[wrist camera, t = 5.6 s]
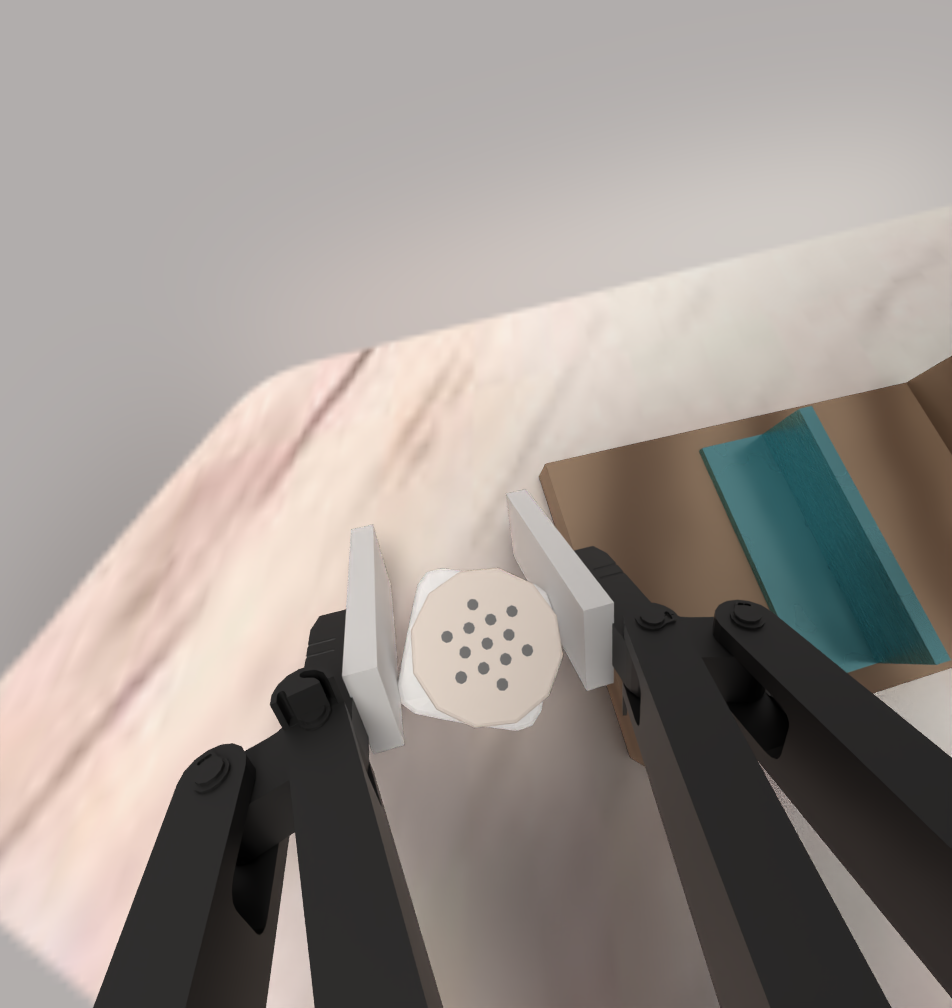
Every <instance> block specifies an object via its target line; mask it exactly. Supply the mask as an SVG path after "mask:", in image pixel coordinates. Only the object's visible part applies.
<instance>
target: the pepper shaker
mask: <svg viewBox="0 0 952 1008" xmlns="http://www.w3.org/2000/svg"><path fill="white" fill-rule="evenodd" d="M562 658H563V652H562V645H561V639H560V632H559V626H558V619H557V615H556V614H555V612H554V611H553V610H552V606H551V603H550V600H549V598H548V595H547V593H546V592H545V591H544V590H542V589H541V588H540V587H538V586H537V585H535V584H533V583H531V582H528V581H526V580H524V579H522V578H520V577H517V576H515V575H513V574H511V573H509V572H506V571H504V570H502V569H500V568H490V569H479V570H468V571H460V570H453V569H445V568H440V569H437V570H433V571H429V572H427V573H426V574H425V575H424V577H423V578H422V579H421V581H420V582H419V584H418V586H417V590H416V595H415V599H414V604H413V608H412V613H411V617H410V622H409V627H408V632H407V637H406V642H405V647H404V652H403V657H402V663H401V668H400V674H399V680H398V689H399V694H400V699H401V704H402V705H404V706H405V707H406V708H408V709H409V710H410V711H412V712H413V713H414V714H418V715H423V716H428V717H433V718H438V719H443V720H449V721H454V722H460V723H465V724H467V725H469V726H471V727H473V728H481V727H491V728H498V729H506V730H513V731H518V730H521V729H524V728H527V727H530V726H533V724H534V722H535V721H536V719H537V717H538V716H539V714H540V712H541V710H542V703H543V701H544V700H545V699H546V698H547V697H549V695H550V692H551V689H552V686H553V683H554V681H555V678H556V675H557V672H558V670H559V667H560V664H561V661H562Z"/></svg>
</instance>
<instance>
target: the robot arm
mask: <svg viewBox="0 0 952 1008" xmlns="http://www.w3.org/2000/svg"><path fill="white" fill-rule="evenodd" d="M506 499H507V507H508V515H509V523H510V531H511V539H512V547H513V554H514V557H515V559H516V561H517V563H518V565H519V567H520V568H521V570H522V572H523V574H524V576H525V578H526V580H527V581H528V582H531V583H533V584H535V585H537V586H538V587H540V588H541V589H542V590H544V591H545V592H546V593H547V595H548V598H549V600H550V603H551V606H552V610H553V611H554V612H555V614H556V615H557V619H558V626H559V632H560V639H561V644H562V646H563V648H564V650H565V652H566V654H567V655H568V657H569V659H570V661H571V663H572V665H573V667H574V668H575V670H576V672H577V674H578V676H579V678H580V680H581V681H582V683H583V685H584V687H585V689H586V691H588V690H592V689H595V688H598V687H602V686H605V685H608V684H612V683H614V669H615V670H616V672H617V673H618V675H619V676H620V678H621V680H622V681H623V683H622V713H623V716H624V715H627V710H628V713H629V717H630V720H631V723H632V726H633V729H634V733H635V736H636V739H637V742H638V745H639V749H640V752H641V755H642V758H643V761H644V765H645V768H646V771H647V774H648V777H649V781H650V784H651V787H652V790H653V793H654V797H655V800H656V803H657V806H658V809H659V813H660V816H661V819H662V822H663V825H664V829H665V832H666V835H667V838H668V841H669V845H670V848H671V851H672V854H673V857H674V861H675V864H676V867H677V870H678V873H679V877H680V880H681V883H682V886H683V889H684V893H685V896H686V899H687V902H688V905H689V909H690V912H691V915H692V918H693V921H694V925H695V928H696V931H697V934H698V937H699V941H700V944H701V947H702V950H703V953H704V956H705V960H706V963H707V966H708V969H709V972H710V976H711V979H712V982H713V985H714V988H715V992H716V995H717V998H718V1001H719V1004H720V1008H891V1006H890V1004H889V1002H888V1000H887V999H886V997H885V995H884V993H883V991H882V989H881V988H880V986H879V984H878V982H877V980H876V978H875V977H874V975H873V973H872V971H871V969H870V967H869V965H868V964H867V962H866V960H865V958H864V956H863V954H862V953H861V951H860V949H859V947H858V945H857V943H856V941H855V940H854V938H853V936H852V934H851V932H850V930H849V929H848V927H847V925H846V923H845V921H844V919H843V918H842V916H841V914H840V912H839V910H838V908H837V906H836V905H835V903H834V901H833V899H832V897H831V895H830V894H829V892H828V890H827V888H826V886H825V884H824V883H823V881H822V879H821V877H820V875H819V873H818V871H817V870H816V868H815V866H814V864H813V862H812V860H811V859H810V857H809V855H808V853H807V851H806V849H805V847H804V846H803V844H802V842H801V840H800V838H799V836H798V835H797V833H796V831H795V829H794V827H793V825H792V824H791V822H790V820H789V818H788V816H787V814H786V812H785V811H784V809H783V807H782V805H781V803H780V801H779V800H778V798H777V796H776V794H775V792H774V790H773V788H772V787H771V785H770V783H769V781H768V779H767V777H766V776H765V774H764V772H763V770H762V768H761V766H760V765H759V763H760V764H761V765H762V766H763V768H764V769H765V770H766V771H767V773H768V774H769V775H770V776H771V777H772V779H773V780H774V781H775V782H776V784H777V785H778V786H779V787H780V788H781V790H782V791H783V792H784V793H785V795H786V796H787V797H788V798H789V799H790V801H791V802H792V803H793V804H794V806H795V807H796V808H797V809H798V810H799V812H800V813H801V814H802V815H803V817H804V818H805V819H806V820H807V822H808V823H809V824H810V825H811V826H812V828H813V829H814V830H815V831H816V833H817V834H818V835H819V836H820V837H821V839H822V840H823V841H824V842H825V844H826V845H827V846H828V847H829V848H830V850H831V851H832V852H833V853H834V855H835V856H836V857H837V858H838V859H839V861H840V862H841V863H842V864H843V866H844V867H845V868H846V869H847V871H848V872H849V873H850V874H851V875H852V877H853V878H854V879H855V880H856V882H857V883H858V884H859V885H860V886H861V888H862V889H863V890H864V891H865V893H866V894H867V895H868V896H869V897H870V899H871V900H872V901H873V902H874V904H875V905H876V906H877V907H878V908H879V910H880V911H881V912H882V913H883V915H884V916H885V917H886V918H887V919H888V921H889V922H890V923H891V924H892V926H893V927H894V928H895V929H896V931H897V932H898V933H899V934H900V935H901V937H902V938H903V939H904V940H905V942H906V943H907V944H908V945H909V946H910V948H911V949H912V950H913V951H914V953H915V954H916V955H917V956H918V957H919V959H920V960H921V961H922V962H923V964H924V965H925V966H926V967H927V968H928V970H929V971H930V972H931V973H932V975H933V976H934V977H935V978H936V980H937V981H938V982H939V983H940V984H941V986H942V987H943V988H944V989H945V991H946V992H947V993H948V994H949V995H950V997H951V998H952V758H951V757H950V756H949V755H948V754H946V753H945V752H944V751H943V750H942V749H940V748H939V747H938V746H937V745H935V744H934V743H933V742H932V741H930V740H929V739H928V738H927V737H926V736H924V735H923V734H922V733H921V732H919V731H918V730H917V729H916V728H914V727H913V726H912V725H911V724H910V723H908V722H907V721H906V720H905V719H903V718H902V717H901V716H900V715H898V714H897V713H896V712H895V711H894V710H892V709H891V708H890V707H889V706H887V705H886V704H885V703H884V702H882V701H881V700H880V699H879V698H878V697H876V696H875V695H874V694H873V693H871V692H870V691H869V690H868V689H866V688H865V687H864V686H863V685H862V684H860V683H859V682H858V681H857V680H855V679H854V678H853V677H852V676H850V675H849V674H848V673H847V672H846V671H844V670H843V669H842V668H841V667H839V666H838V665H837V664H836V663H834V662H833V661H832V660H831V659H830V658H828V657H827V656H826V655H825V654H823V653H822V652H821V651H820V650H819V649H817V648H816V647H815V646H814V645H812V644H811V643H810V642H809V641H807V640H806V639H805V638H804V637H803V636H801V635H800V634H799V633H798V632H796V631H795V630H794V629H793V628H791V627H790V626H789V625H788V624H787V623H785V622H784V621H783V620H782V619H780V618H779V617H778V616H777V615H775V614H774V613H773V612H772V611H770V610H769V609H767V608H765V607H764V606H762V605H760V604H757V603H754V602H751V601H745V600H730V601H725V602H723V603H721V604H719V605H718V607H717V608H716V610H715V614H714V617H681V616H678V615H677V614H676V613H675V612H674V611H673V610H671V609H670V608H668V607H666V606H664V605H661V604H657V603H651V602H650V601H649V599H648V598H647V597H646V596H645V595H644V594H643V593H642V592H641V590H640V589H639V588H638V587H637V586H636V585H635V584H634V583H633V581H632V580H631V579H630V578H629V577H628V576H627V575H626V574H625V573H624V572H623V570H622V569H621V568H620V567H619V566H618V565H616V562H615V561H614V560H613V559H612V558H611V557H610V556H609V555H608V553H606V552H604V551H602V550H600V549H598V548H596V547H595V546H590V547H586V548H582V549H578V550H573V549H572V548H571V547H570V545H569V544H568V543H567V541H566V540H565V539H564V537H563V536H562V535H561V534H560V532H559V531H558V530H557V528H556V527H555V526H554V525H553V523H552V522H551V521H550V519H549V518H548V517H547V516H546V514H545V513H544V512H543V510H542V509H541V508H540V507H539V505H538V504H537V503H536V501H535V500H534V499H533V497H532V496H531V495H530V494H529V492H528V491H527V490H526V489H524V490H520V491H515V492H511V493H507V494H506ZM308 645H309V647H308V648H307V655H306V656H307V659H306V661H305V667H304V668H301V669H298V670H297V671H295V672H293V673H292V674H290V675H288V676H287V677H286V678H285V679H284V680H283V681H281V682H280V683H279V684H278V686H277V687H276V689H275V690H274V692H273V694H272V696H271V702H270V706H271V708H272V710H273V712H274V713H275V715H276V717H277V719H278V721H279V723H280V725H281V726H282V728H281V729H280V730H279V731H278V732H277V733H275V734H274V735H272V736H271V737H269V738H267V739H266V740H264V741H262V742H260V743H259V744H257V745H255V746H253V747H251V748H250V749H248V750H246V751H244V750H243V748H242V747H241V746H239V745H236V744H233V743H231V744H223V745H219V746H217V747H215V748H212V749H210V750H208V751H206V752H205V753H204V754H202V755H201V756H200V757H198V758H197V759H195V760H194V761H193V763H192V764H191V765H190V766H189V767H188V768H187V769H186V770H185V771H184V773H183V775H182V777H181V778H180V780H179V782H178V784H177V786H176V789H175V791H174V794H173V797H172V799H171V802H170V805H169V807H168V810H167V813H166V815H165V818H164V821H163V823H162V826H161V829H160V831H159V834H158V837H157V839H156V842H155V845H154V847H153V850H152V853H151V855H150V858H149V861H148V863H147V866H146V869H145V871H144V874H143V877H142V879H141V882H140V885H139V887H138V890H137V893H136V895H135V898H134V901H133V903H132V906H131V909H130V911H129V914H128V917H127V919H126V922H125V925H124V927H123V930H122V933H121V935H120V938H119V941H118V943H117V946H116V949H115V951H114V954H113V957H112V959H111V962H110V965H109V967H108V970H107V972H106V975H105V978H104V980H103V983H102V986H101V988H100V991H99V994H98V996H97V999H96V1002H95V1004H94V1007H93V1008H266V1003H267V996H268V988H269V981H270V974H271V966H272V959H273V952H274V945H275V937H276V930H277V923H278V915H279V908H280V901H281V893H282V886H283V879H284V872H285V864H286V857H287V850H288V842H289V836H290V835H291V834H293V833H294V832H295V836H296V844H297V853H298V862H299V871H300V880H301V889H302V898H303V907H304V916H305V924H306V933H307V942H308V951H309V960H310V969H311V978H312V987H313V996H314V1005H315V1008H443V1005H442V1002H441V999H440V995H439V992H438V988H437V985H436V982H435V978H434V975H433V971H432V968H431V965H430V961H429V958H428V954H427V951H426V948H425V944H424V941H423V938H422V934H421V931H420V927H419V924H418V921H417V917H416V914H415V910H414V907H413V904H412V900H411V897H410V893H409V890H408V887H407V883H406V880H405V877H404V873H403V870H402V866H401V863H400V860H399V856H398V853H397V849H396V846H395V843H394V839H393V836H392V833H391V829H390V826H389V822H388V819H387V816H386V812H385V809H384V805H383V802H382V799H381V795H380V792H379V788H378V785H377V782H376V778H375V775H374V772H373V769H372V767H371V764H370V762H369V744H370V747H371V749H372V752H373V754H376V753H379V752H383V751H386V750H389V749H393V748H396V747H400V746H403V745H404V736H403V723H402V711H401V699H400V694H399V689H398V680H399V675H398V663H397V650H396V638H395V626H394V614H393V602H392V590H391V584H390V580H389V577H388V574H387V570H386V567H385V563H384V560H383V557H382V553H381V550H380V546H379V543H378V539H377V536H376V533H375V529H374V526H373V525H368V526H364V527H360V528H355V529H351V540H350V556H349V572H348V589H347V605H346V610H342V611H338V612H334V613H330V614H326V615H322V616H319V618H318V620H317V621H316V623H315V624H314V626H313V627H312V629H311V630H310V636H309V642H308ZM757 760H758V761H759V763H758V761H757Z"/></svg>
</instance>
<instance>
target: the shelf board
mask: <svg viewBox="0 0 952 1008" xmlns="http://www.w3.org/2000/svg"><path fill="white" fill-rule="evenodd" d="M809 406H812V407H813V409H814V411H815V413H816V414H817V416H818V418H819V420H820V422H821V423H822V425H823V427H824V429H825V431H826V433H827V434H828V436H829V438H830V440H831V442H832V444H833V445H834V447H835V449H836V451H837V453H838V454H839V456H840V458H841V460H842V462H843V464H844V465H845V467H846V469H847V471H848V473H849V475H850V476H851V478H852V480H853V482H854V484H855V485H856V487H857V489H858V491H859V493H860V495H861V496H862V498H863V500H864V502H865V504H866V506H867V507H868V509H869V511H870V513H871V515H872V517H873V518H874V520H875V522H876V524H877V526H878V527H879V529H880V531H881V533H882V535H883V537H884V538H885V540H886V542H887V544H888V546H889V548H890V549H891V551H892V553H893V555H894V557H895V558H896V560H897V562H898V564H899V566H900V568H901V569H902V571H903V573H904V575H905V577H906V579H907V580H908V582H909V584H910V586H911V588H912V589H913V591H914V593H915V595H916V597H917V599H918V600H919V602H920V604H921V606H922V608H923V610H924V611H925V613H926V615H927V617H928V619H929V621H930V622H931V624H932V626H933V628H934V630H935V631H936V633H937V635H938V637H939V639H940V641H941V642H942V644H943V646H944V648H945V650H946V652H947V653H948V655H949V657H950V659H951V660H950V661H947V662H944V663H941V664H938V665H920V664H885V663H876V664H873V665H870V666H867V667H864V668H861V669H857V670H854V671H851V672H848V674H849V675H850V676H852V677H853V678H854V679H855V680H857V681H858V682H859V683H860V684H862V685H863V686H864V687H865V688H866V689H868V690H869V691H870V692H871V693H875V692H879V691H882V690H885V689H888V688H891V687H894V686H897V685H900V684H903V683H906V682H909V681H912V680H915V679H918V678H922V677H925V676H928V675H931V674H934V673H937V672H940V671H943V670H946V669H949V668H952V356H951V357H949V358H947V359H945V360H944V361H942V362H940V363H939V364H937V365H935V366H934V367H932V368H930V369H929V370H927V371H925V372H923V373H922V374H920V375H918V376H917V377H915V378H913V379H912V380H910V381H908V382H907V383H903V384H898V385H894V386H889V387H885V388H880V389H876V390H871V391H867V392H862V393H858V394H854V395H849V396H845V397H840V398H836V399H831V400H827V401H822V402H818V403H814V404H809V405H805V406H800V407H796V408H791V409H787V410H782V411H778V412H774V413H769V414H765V415H760V416H756V417H751V418H747V419H742V420H738V421H734V422H729V423H725V424H720V425H716V426H711V427H707V428H702V429H698V430H693V431H689V432H685V433H680V434H676V435H671V436H667V437H662V438H658V439H653V440H649V441H645V442H640V443H636V444H631V445H627V446H622V447H618V448H613V449H609V450H605V451H600V452H596V453H591V454H587V455H582V456H578V457H573V458H569V459H565V460H560V461H556V462H551V463H547V464H545V466H544V468H543V470H542V472H541V474H540V476H539V478H540V481H541V484H542V487H543V490H544V494H545V497H546V500H547V503H548V506H549V509H550V512H551V515H552V518H553V521H554V524H555V527H556V528H557V530H558V531H559V532H560V534H561V535H562V536H563V537H564V539H565V540H566V541H567V543H568V544H569V545H570V547H571V548H572V549H573V550H578V549H582V548H586V547H590V546H595V547H596V548H598V549H600V550H602V551H604V552H606V553H608V555H609V556H610V557H611V558H612V559H613V560H614V561H615V562H616V565H618V566H619V567H620V568H621V569H622V570H623V572H624V573H625V574H626V575H627V576H628V577H629V578H630V579H631V580H632V581H633V583H634V584H635V585H636V586H637V587H638V588H639V589H640V590H641V592H642V593H643V594H644V595H645V596H646V597H647V598H648V599H649V601H650V602H651V603H657V604H661V605H664V606H666V607H668V608H670V609H671V610H673V611H674V612H675V613H676V614H677V615H678V616H681V617H714V614H715V610H716V608H717V607H718V605H719V604H721V603H723V602H725V601H730V600H745V601H751V602H754V603H757V604H760V605H762V606H764V607H765V608H767V609H769V607H768V605H767V603H766V601H765V598H764V596H763V594H762V592H761V589H760V587H759V585H758V583H757V580H756V578H755V576H754V574H753V572H752V569H751V567H750V565H749V563H748V560H747V558H746V556H745V554H744V551H743V549H742V547H741V545H740V542H739V540H738V538H737V536H736V533H735V531H734V529H733V527H732V525H731V522H730V520H729V518H728V516H727V513H726V511H725V509H724V507H723V504H722V502H721V500H720V498H719V495H718V493H717V491H716V489H715V487H714V484H713V482H712V480H711V478H710V475H709V473H708V471H707V469H706V466H705V464H704V462H703V460H702V457H701V455H700V453H699V450H700V449H702V448H705V447H709V446H713V445H718V444H722V443H726V442H731V441H735V440H739V439H744V438H748V437H752V436H757V435H761V434H763V433H765V432H766V431H768V430H769V429H771V428H772V427H773V426H775V425H776V424H778V423H779V422H781V421H782V420H784V419H785V418H786V417H788V416H789V415H791V414H792V413H794V412H795V411H796V410H798V409H800V408H805V407H809ZM622 683H623V681H622V680H621V678H620V676H619V675H618V673H617V672H616V670H615V669H614V683H612V684H608V685H607V688H608V691H609V694H610V697H611V700H612V703H613V706H614V710H615V713H616V716H617V719H618V722H619V725H620V728H621V731H622V734H623V737H624V740H625V744H626V747H627V750H628V753H629V756H630V758H632V759H633V760H635V761H637V762H638V763H640V764H642V765H643V766H645V765H644V761H643V758H642V755H641V752H640V749H639V745H638V742H637V739H636V736H635V733H634V729H633V726H632V723H631V720H630V717H629V713H628V710H627V715H624V716H623V713H622Z"/></svg>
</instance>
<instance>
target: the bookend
mask: <svg viewBox="0 0 952 1008" xmlns="http://www.w3.org/2000/svg"><path fill="white" fill-rule="evenodd" d="M699 453H700V455H701V457H702V460H703V462H704V464H705V466H706V469H707V471H708V473H709V475H710V478H711V480H712V482H713V484H714V487H715V489H716V491H717V493H718V495H719V498H720V500H721V502H722V504H723V507H724V509H725V511H726V513H727V516H728V518H729V520H730V522H731V525H732V527H733V529H734V531H735V533H736V536H737V538H738V540H739V542H740V545H741V547H742V549H743V551H744V554H745V556H746V558H747V560H748V563H749V565H750V567H751V569H752V572H753V574H754V576H755V578H756V580H757V583H758V585H759V587H760V589H761V592H762V594H763V596H764V598H765V601H766V603H767V605H768V607H769V610H770V611H772V612H773V613H774V614H775V615H777V616H778V617H779V618H780V619H782V620H783V621H784V622H785V623H787V624H788V625H789V626H790V627H791V628H793V629H794V630H795V631H796V632H798V633H799V634H800V635H801V636H803V637H804V638H805V639H806V640H807V641H809V642H810V643H811V644H812V645H814V646H815V647H816V648H817V649H819V650H820V651H821V652H822V653H823V654H825V655H826V656H827V657H828V658H830V659H831V660H832V661H833V662H834V663H836V664H837V665H838V666H839V667H841V668H842V669H843V670H844V671H846V672H847V673H848V672H851V671H854V670H857V669H861V668H864V667H867V666H870V665H873V664H876V663H885V664H920V665H938V664H941V663H944V662H947V661H950V660H951V659H950V657H949V655H948V653H947V652H946V650H945V648H944V646H943V644H942V642H941V641H940V639H939V637H938V635H937V633H936V631H935V630H934V628H933V626H932V624H931V622H930V621H929V619H928V617H927V615H926V613H925V611H924V610H923V608H922V606H921V604H920V602H919V600H918V599H917V597H916V595H915V593H914V591H913V589H912V588H911V586H910V584H909V582H908V580H907V579H906V577H905V575H904V573H903V571H902V569H901V568H900V566H899V564H898V562H897V560H896V558H895V557H894V555H893V553H892V551H891V549H890V548H889V546H888V544H887V542H886V540H885V538H884V537H883V535H882V533H881V531H880V529H879V527H878V526H877V524H876V522H875V520H874V518H873V517H872V515H871V513H870V511H869V509H868V507H867V506H866V504H865V502H864V500H863V498H862V496H861V495H860V493H859V491H858V489H857V487H856V485H855V484H854V482H853V480H852V478H851V476H850V475H849V473H848V471H847V469H846V467H845V465H844V464H843V462H842V460H841V458H840V456H839V454H838V453H837V451H836V449H835V447H834V445H833V444H832V442H831V440H830V438H829V436H828V434H827V433H826V431H825V429H824V427H823V425H822V423H821V422H820V420H819V418H818V416H817V414H816V413H815V411H814V409H813V407H812V406H809V407H805V408H800V409H798V410H796V411H795V412H794V413H792V414H791V415H789V416H788V417H786V418H785V419H784V420H782V421H781V422H779V423H778V424H776V425H775V426H773V427H772V428H771V429H769V430H768V431H766V432H765V433H763V434H761V435H757V436H752V437H748V438H744V439H739V440H735V441H731V442H726V443H722V444H718V445H713V446H709V447H705V448H702V449H700V450H699Z"/></svg>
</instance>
